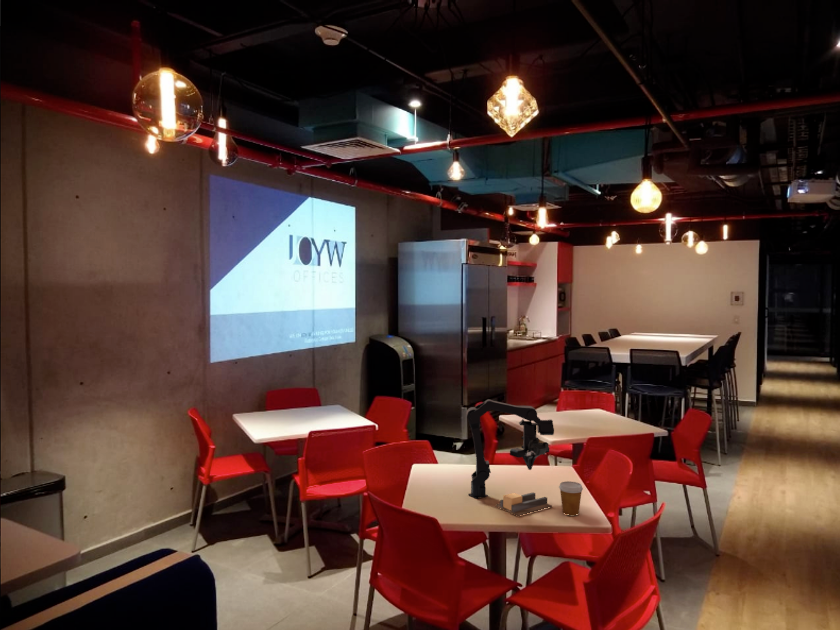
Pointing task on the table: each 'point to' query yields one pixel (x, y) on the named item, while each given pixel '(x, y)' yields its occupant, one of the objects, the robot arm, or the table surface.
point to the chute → (527, 504)
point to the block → (511, 500)
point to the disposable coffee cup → (570, 497)
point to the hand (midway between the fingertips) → (529, 469)
